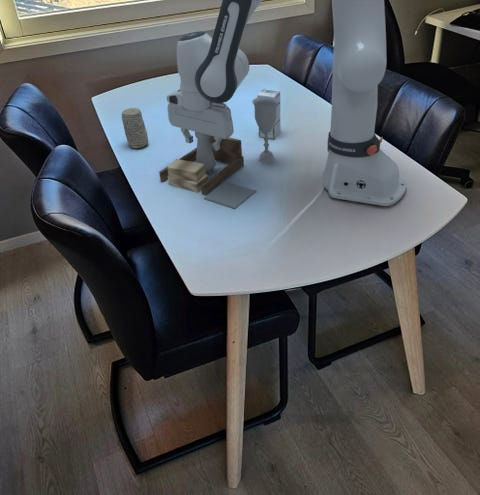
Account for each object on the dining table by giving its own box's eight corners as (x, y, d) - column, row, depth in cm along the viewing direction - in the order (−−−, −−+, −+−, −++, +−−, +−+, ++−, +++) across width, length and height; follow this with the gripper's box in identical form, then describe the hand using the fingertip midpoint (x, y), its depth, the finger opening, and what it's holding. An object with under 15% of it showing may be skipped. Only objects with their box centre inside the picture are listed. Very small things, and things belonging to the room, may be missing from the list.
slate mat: (255, 191, 130) (255, 190, 130) (235, 209, 124) (234, 207, 124) (225, 182, 135) (225, 181, 135) (204, 199, 129) (204, 197, 129)
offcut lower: (209, 184, 136) (208, 175, 134) (197, 193, 132) (196, 184, 130) (181, 176, 140) (179, 167, 139) (169, 185, 137) (167, 176, 135)
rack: (244, 165, 143) (242, 140, 138) (205, 195, 130) (202, 168, 126) (201, 154, 150) (198, 130, 145) (160, 181, 138) (156, 155, 133)
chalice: (283, 157, 145) (282, 99, 134) (271, 167, 141) (270, 107, 130) (262, 152, 149) (260, 95, 138) (250, 161, 144) (247, 103, 133)
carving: (135, 140, 161) (128, 105, 154) (153, 144, 158) (147, 108, 151) (123, 148, 157) (115, 112, 150) (141, 152, 154) (134, 116, 146)
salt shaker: (213, 176, 139) (209, 133, 131) (194, 175, 140) (189, 133, 132) (218, 166, 143) (214, 124, 135) (200, 165, 144) (195, 124, 136)
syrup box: (281, 133, 159) (281, 89, 150) (274, 140, 155) (274, 96, 146) (265, 130, 161) (264, 87, 152) (258, 138, 157) (256, 94, 148)
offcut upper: (205, 173, 135) (204, 163, 133) (196, 182, 131) (195, 172, 129) (178, 168, 138) (176, 159, 136) (168, 176, 135) (167, 167, 133)
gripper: (237, 100, 125) (239, 149, 134) (176, 88, 135) (182, 134, 143) (222, 108, 121) (226, 158, 130) (161, 95, 131) (168, 142, 139)
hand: (202, 145), depth 137 cm, fingers open, 8 cm apart
